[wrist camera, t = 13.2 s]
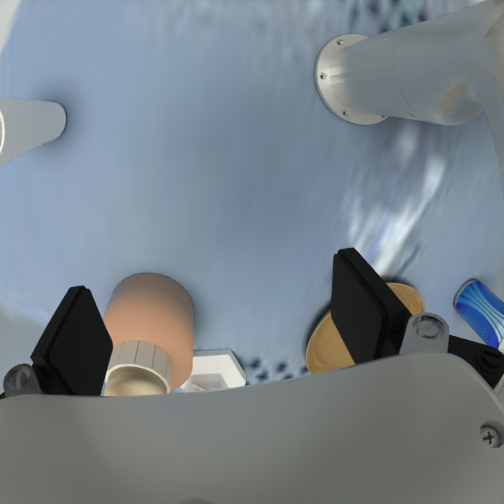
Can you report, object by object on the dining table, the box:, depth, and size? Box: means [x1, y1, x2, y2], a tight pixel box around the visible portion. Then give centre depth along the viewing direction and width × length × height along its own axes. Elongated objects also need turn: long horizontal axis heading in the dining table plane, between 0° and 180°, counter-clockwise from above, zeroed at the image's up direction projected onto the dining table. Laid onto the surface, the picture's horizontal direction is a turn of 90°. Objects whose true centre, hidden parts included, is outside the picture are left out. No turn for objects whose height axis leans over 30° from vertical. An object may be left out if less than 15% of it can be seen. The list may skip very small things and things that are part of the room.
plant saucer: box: [306, 282, 425, 374], centre depth 51 cm, size 24×24×3 cm
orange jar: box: [102, 273, 194, 394], centre depth 38 cm, size 13×13×15 cm
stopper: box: [104, 366, 167, 396], centre depth 31 cm, size 7×7×6 cm
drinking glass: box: [0, 97, 66, 165], centre depth 23 cm, size 7×7×15 cm
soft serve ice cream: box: [180, 349, 246, 393], centre depth 46 cm, size 12×15×14 cm
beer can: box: [455, 281, 504, 352], centre depth 46 cm, size 8×8×16 cm
